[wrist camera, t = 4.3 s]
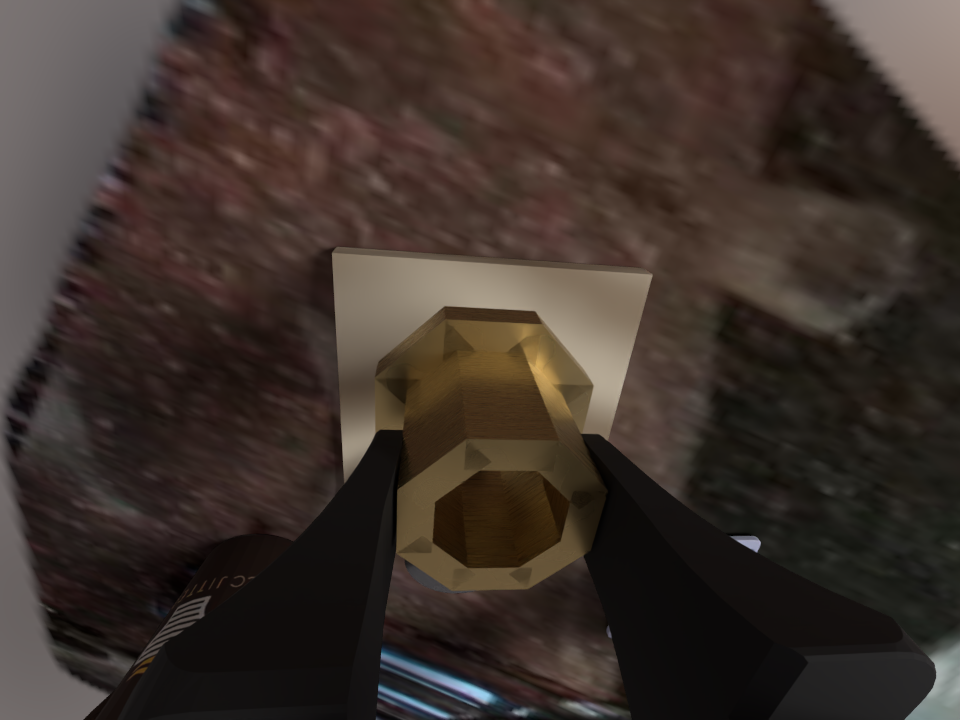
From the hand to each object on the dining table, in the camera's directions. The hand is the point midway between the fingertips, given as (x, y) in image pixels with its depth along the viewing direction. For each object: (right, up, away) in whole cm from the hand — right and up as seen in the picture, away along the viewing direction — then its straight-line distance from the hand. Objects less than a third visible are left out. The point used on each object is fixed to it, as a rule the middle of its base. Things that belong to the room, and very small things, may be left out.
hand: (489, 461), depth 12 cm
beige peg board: (0, +1, +10) cm, 10 cm away
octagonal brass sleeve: (0, +1, +2) cm, 3 cm away
